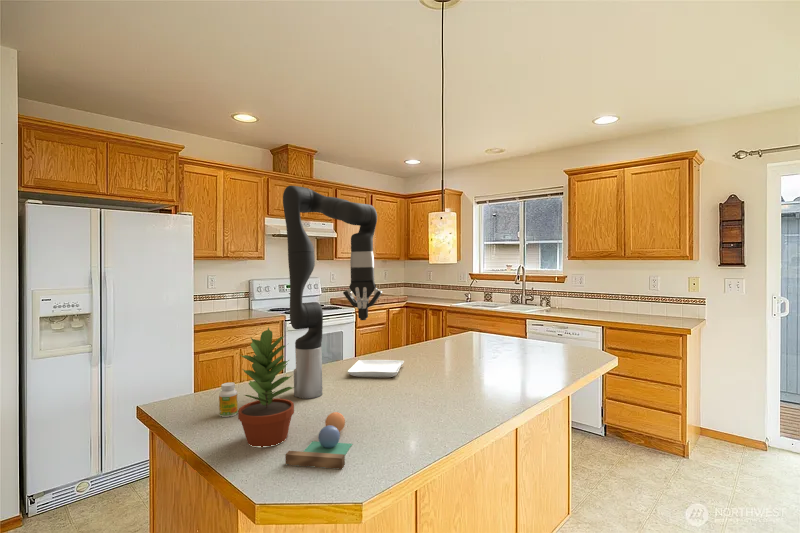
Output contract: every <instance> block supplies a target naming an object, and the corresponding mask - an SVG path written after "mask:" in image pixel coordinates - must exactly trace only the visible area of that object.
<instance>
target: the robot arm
mask: <svg viewBox="0 0 800 533" xmlns="http://www.w3.org/2000/svg"><path fill="white" fill-rule="evenodd" d="M282 207H283V213H284V220H285V225H286V226H285V227H286V236H287V237H286V238H287V257H288V270H289V271H288V274H289V321H290V324H291V327H292V328H293V329H294V330H305V329H308V330H307V332H306V333H304V334H303V335H302V336H300V337H298V338H296V340H295V342H294V344H295V345H294V346H295V348H294V349H295V350H294V351H295V368H294V369H293V387H294V388H293V396H294V397H296V398H300V399H315V398H318V397H320V396H322V395H323V362H322V361H323V358H322V356H323V355H322V351H323V350H322V342H323V329H324V328H323V327H324V324H323V323H324V313H323V312H324V311H323V308H322V305H321V304H320V303H319V302H317V301H311V302H303V294H304V290H305V286H306V284H307V282H308V281H309V279H310V277H311V275H312V273H313V271H314V269H315V266H316V264H315V262H316V260H315V248H314V245H313V242H312V241H311V239H310V236H308V234H307V232H306V230H305V228H304V226H303V224H302V218H301V213H303V214H305V213H319V214H323V215H324V216H326V217H328V218H330V219H334V220H338V221H342V222H343V223H345V224H349V225H352V226H359V230H358V232H357V233H353V234H352V235H351V237H350V259H349V260H350V264H349V266H350V284H349V288H347V289H346V290H344V291H343V296H344V297H345V298H346V300H348V302H349V304H351V305H352V307H355V308H357V311H358V314H357V316H358V319H359V320H360V321H366V320H367V319H368V318H369V308H370V307H372V306H374V305H375V303H376V302H377V301H378V300H379V299H380V297H381V296H382V294H383V291H382V290H380V289H379V288H377V285H376V282H375V258H374V257H375V256H374V244H373V243H374V241H373V239H374V234H375V232H376V231H375V230H376V226H377V222H378V213H377V211H376V208H375V207H374V206H373V205H372V204H367V203H360V202H353V201H349V200H347V199H343V198H340V197H334V196H325V195H323V194H320V193H319V192H316V191H315V190H313V189H310V188H308V187H303V186H298V185H297V186H296V185H288V186H286V187H285V188H284V190H283V194H282ZM372 294H373V295H374V296H373V297H372V299H370V297H371V296H372ZM353 295H354V296H355V297H356V299H355V297H354V296H353ZM295 386H296V387H295Z"/></svg>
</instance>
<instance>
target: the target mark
mask: <svg viewBox="0 0 800 533" xmlns="http://www.w3.org/2000/svg"><path fill="white" fill-rule="evenodd" d="M352 445H353V443H346V442H344V443H343V442H338V443H337V445H336V446H334V447H332V448H325V447H323V446H322V445H321V444H320V442H319V440H318V441H315V440H312V441H311V442H310V444H309V445H308V446H307V447H306V448H305V449H304V450H303V451H302V452H315V453H330V454H344V455H345V456H346V455H347V453H348V452H349V451H350V449H351V447H352ZM349 448H350V449H349Z"/></svg>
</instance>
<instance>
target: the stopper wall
mask: <svg viewBox="0 0 800 533" xmlns="http://www.w3.org/2000/svg"><path fill="white" fill-rule="evenodd" d="M345 456H346V455H344V454H330V453H315V452H303V451H297V450H288V451H287V452H286V453H285V458H284V460H285V465H286V464H289V465H288V466H294V465H299V466H298V467H307V466H315V467H314V468H320V467H325V468H324V469H333V468H339V469H338V470H343V469H344V467H345V466H344V465H346V462H345V460H346V459H345V458H346V457H345ZM342 468H343V469H342Z"/></svg>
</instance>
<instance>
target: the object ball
mask: <svg viewBox="0 0 800 533" xmlns="http://www.w3.org/2000/svg"><path fill="white" fill-rule="evenodd" d="M317 438H318V442H320V444H321V445H322V446H323V447H325V448H332V447H334V446H336V445H337V443H340V438H341V434H340V432H339V430H338V429H337V428H336V427H334V426H332V425H328V426H326V425H325V426H323V427H322V428H321V429H320V431H319V433H318V437H317Z"/></svg>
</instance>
